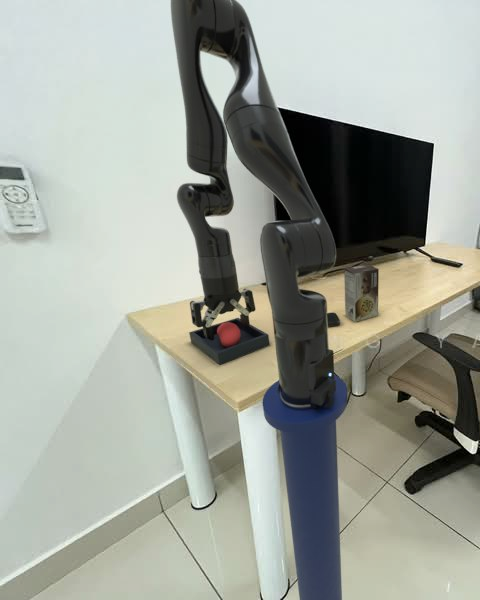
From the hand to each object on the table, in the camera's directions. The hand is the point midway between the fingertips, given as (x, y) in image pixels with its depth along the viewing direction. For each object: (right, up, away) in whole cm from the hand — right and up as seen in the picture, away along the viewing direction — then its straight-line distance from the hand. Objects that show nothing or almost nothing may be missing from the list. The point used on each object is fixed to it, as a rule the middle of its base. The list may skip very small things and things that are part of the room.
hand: (228, 333), depth 80 cm
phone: (+18, +1, +15) cm, 23 cm away
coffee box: (+31, +3, +22) cm, 38 cm away
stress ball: (0, -3, +1) cm, 3 cm away
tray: (0, -3, +1) cm, 3 cm away
